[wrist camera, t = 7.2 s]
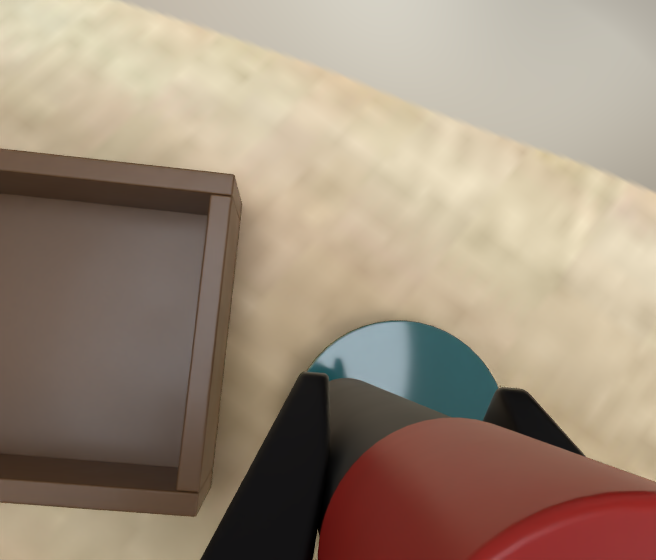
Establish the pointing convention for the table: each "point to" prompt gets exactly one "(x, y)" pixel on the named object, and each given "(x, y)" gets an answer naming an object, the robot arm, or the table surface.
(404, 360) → the coaster
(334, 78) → the table surface
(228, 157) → the table surface
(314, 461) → the robot arm
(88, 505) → the box
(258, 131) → the table surface
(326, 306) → the table surface
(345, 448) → the marker
